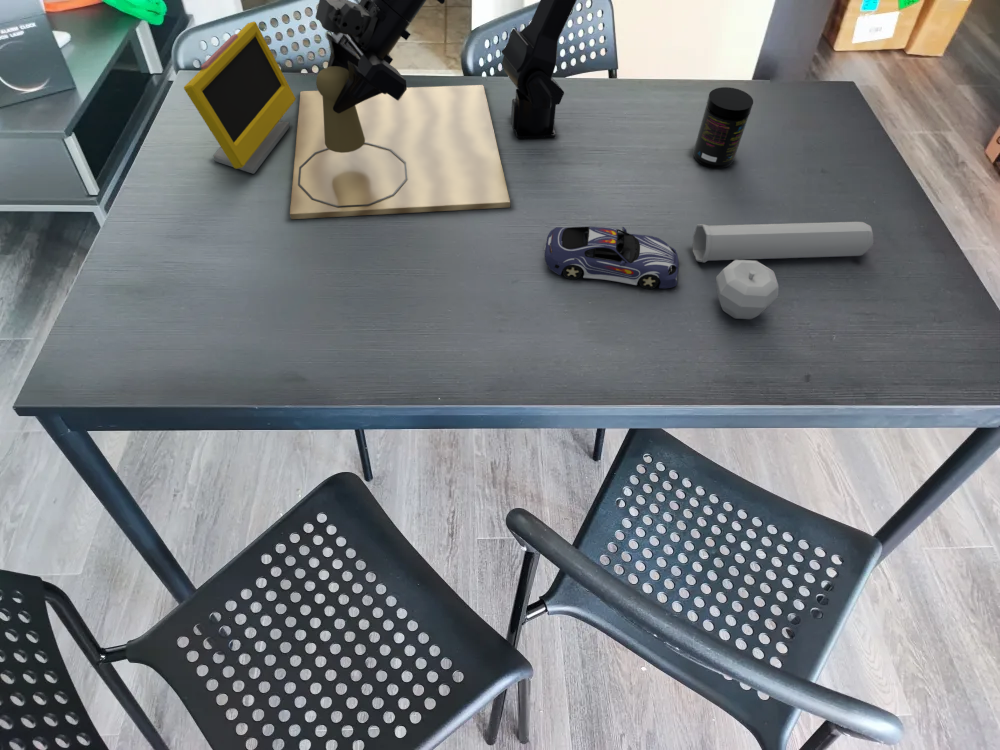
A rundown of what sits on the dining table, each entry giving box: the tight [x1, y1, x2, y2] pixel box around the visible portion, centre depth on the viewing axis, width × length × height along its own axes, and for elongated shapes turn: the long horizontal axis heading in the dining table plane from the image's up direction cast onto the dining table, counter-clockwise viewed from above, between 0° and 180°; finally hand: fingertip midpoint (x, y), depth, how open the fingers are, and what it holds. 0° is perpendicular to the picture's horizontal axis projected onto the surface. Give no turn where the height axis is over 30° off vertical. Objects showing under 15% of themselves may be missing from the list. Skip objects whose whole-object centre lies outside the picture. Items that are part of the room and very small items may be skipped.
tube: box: [692, 221, 875, 263], centre depth 99 cm, size 5×5×25 cm
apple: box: [715, 259, 779, 320], centre depth 90 cm, size 8×8×7 cm
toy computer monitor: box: [183, 21, 297, 174], centre depth 106 cm, size 20×8×16 cm, turn 168°
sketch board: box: [289, 84, 511, 220], centre depth 113 cm, size 32×34×1 cm
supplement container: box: [692, 86, 754, 169], centre depth 111 cm, size 7×7×10 cm
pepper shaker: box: [315, 66, 365, 153], centre depth 102 cm, size 6×6×11 cm
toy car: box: [543, 225, 680, 290], centre depth 96 cm, size 8×18×5 cm, turn 82°
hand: (329, 102), depth 101 cm, fingers closed on pepper shaker, 5 cm apart
